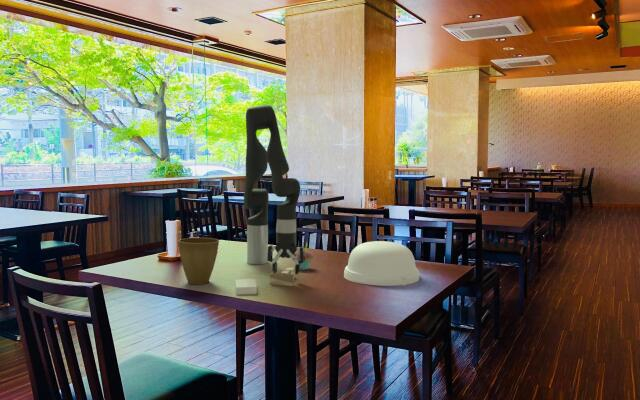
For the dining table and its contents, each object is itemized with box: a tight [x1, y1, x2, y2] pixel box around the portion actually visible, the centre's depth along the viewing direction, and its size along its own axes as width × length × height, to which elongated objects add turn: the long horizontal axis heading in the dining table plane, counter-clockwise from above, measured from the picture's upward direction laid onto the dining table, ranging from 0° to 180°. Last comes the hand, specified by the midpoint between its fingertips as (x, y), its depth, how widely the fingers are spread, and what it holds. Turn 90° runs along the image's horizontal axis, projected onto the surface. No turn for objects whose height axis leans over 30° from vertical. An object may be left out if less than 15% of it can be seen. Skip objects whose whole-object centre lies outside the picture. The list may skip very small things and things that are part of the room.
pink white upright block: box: [235, 278, 258, 295], centre depth 184 cm, size 3×7×12 cm
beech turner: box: [269, 266, 295, 287], centre depth 199 cm, size 14×9×4 cm, turn 167°
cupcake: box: [295, 240, 314, 271], centre depth 222 cm, size 9×8×12 cm
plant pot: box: [177, 237, 220, 285], centre depth 195 cm, size 15×15×16 cm
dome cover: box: [343, 240, 420, 287], centre depth 208 cm, size 32×30×14 cm
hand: (286, 273), depth 198 cm, fingers open, 8 cm apart
